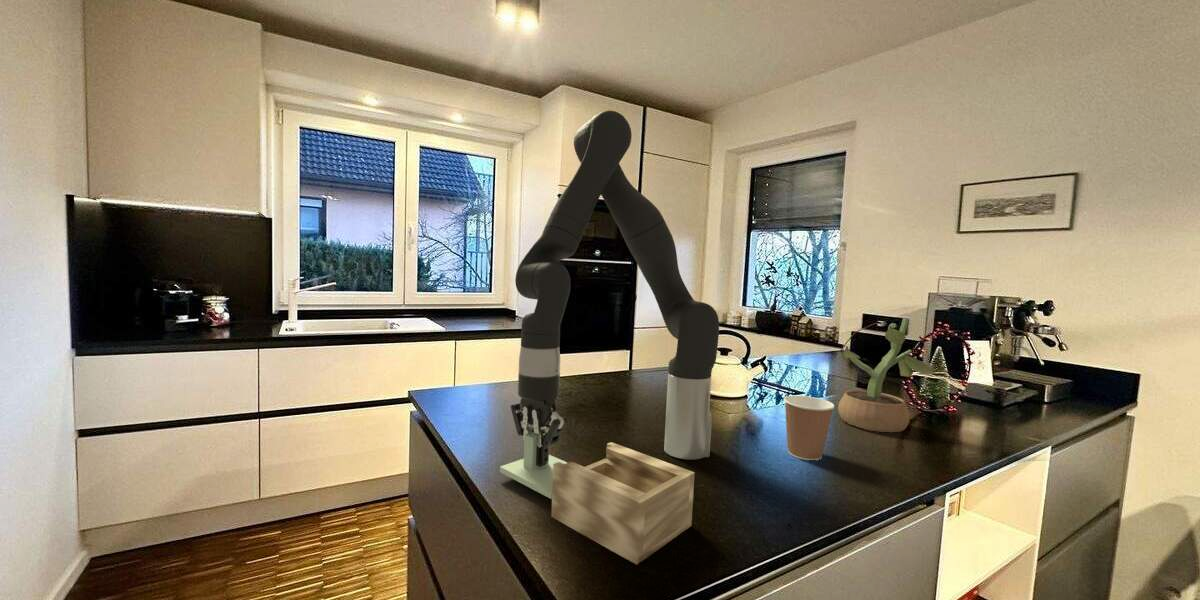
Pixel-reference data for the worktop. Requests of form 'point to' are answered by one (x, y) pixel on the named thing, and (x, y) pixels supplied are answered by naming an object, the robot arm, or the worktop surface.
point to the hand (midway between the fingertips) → (536, 462)
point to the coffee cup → (807, 426)
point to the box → (624, 501)
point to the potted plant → (872, 404)
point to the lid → (532, 468)
